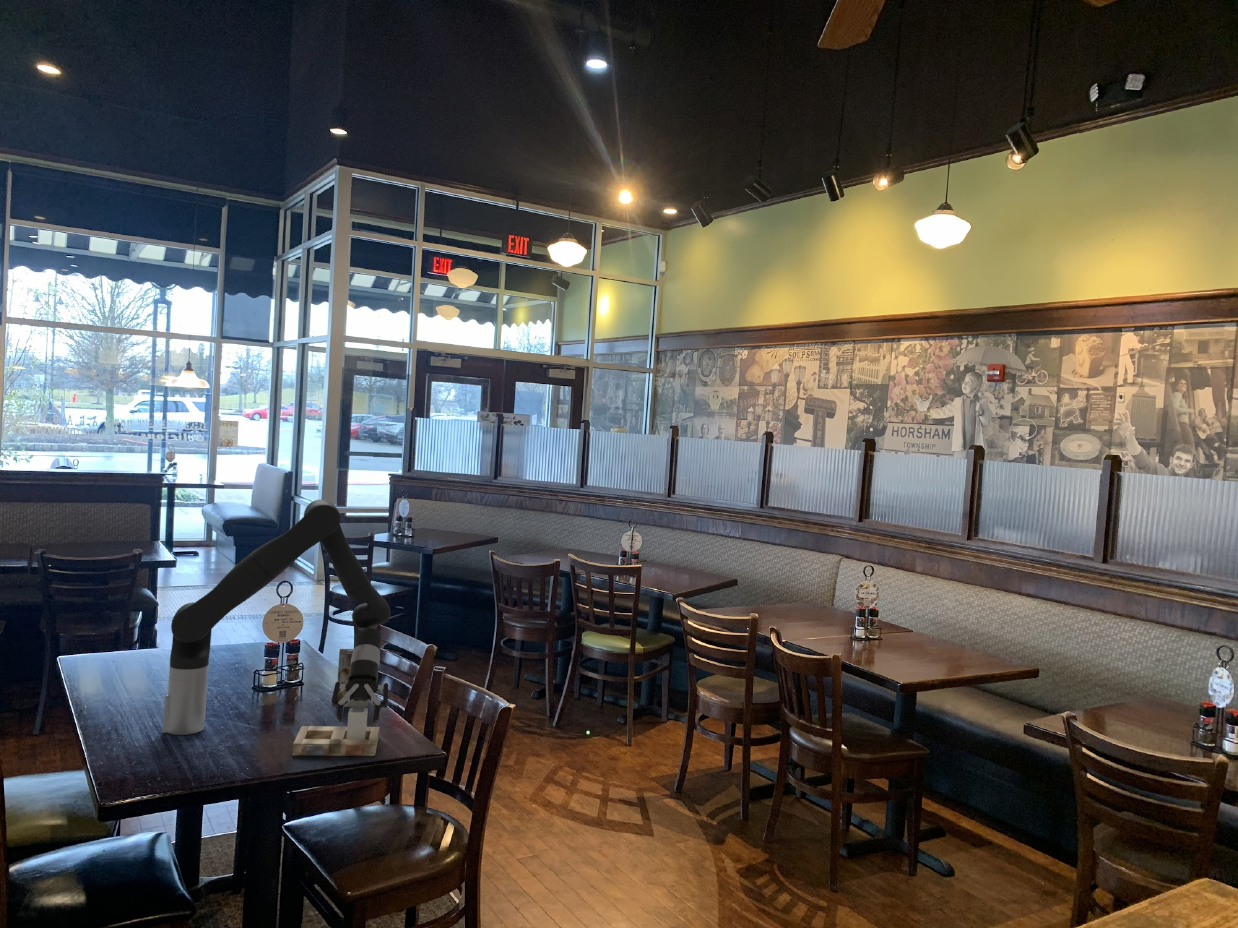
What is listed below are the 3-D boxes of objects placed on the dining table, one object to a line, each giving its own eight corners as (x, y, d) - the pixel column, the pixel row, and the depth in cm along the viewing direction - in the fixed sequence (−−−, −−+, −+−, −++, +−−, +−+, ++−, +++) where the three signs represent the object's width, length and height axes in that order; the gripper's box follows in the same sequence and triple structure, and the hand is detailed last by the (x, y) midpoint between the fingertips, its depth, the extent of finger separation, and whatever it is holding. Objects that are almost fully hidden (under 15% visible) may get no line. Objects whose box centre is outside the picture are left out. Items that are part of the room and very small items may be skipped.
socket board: (292, 755, 217) (293, 744, 217) (301, 737, 231) (301, 725, 231) (374, 756, 221) (375, 744, 221) (378, 737, 235) (379, 726, 234)
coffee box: (367, 700, 265) (371, 648, 265) (367, 707, 259) (371, 653, 259) (336, 700, 263) (339, 648, 262) (335, 707, 257) (338, 653, 256)
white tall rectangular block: (345, 747, 225) (348, 710, 224) (347, 741, 229) (350, 705, 229) (363, 747, 225) (366, 710, 225) (365, 741, 230) (368, 705, 230)
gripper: (337, 657, 233) (328, 713, 222) (391, 658, 235) (385, 714, 224) (338, 671, 238) (329, 727, 227) (391, 672, 241) (385, 727, 230)
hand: (357, 720), depth 226 cm, fingers open, 8 cm apart
